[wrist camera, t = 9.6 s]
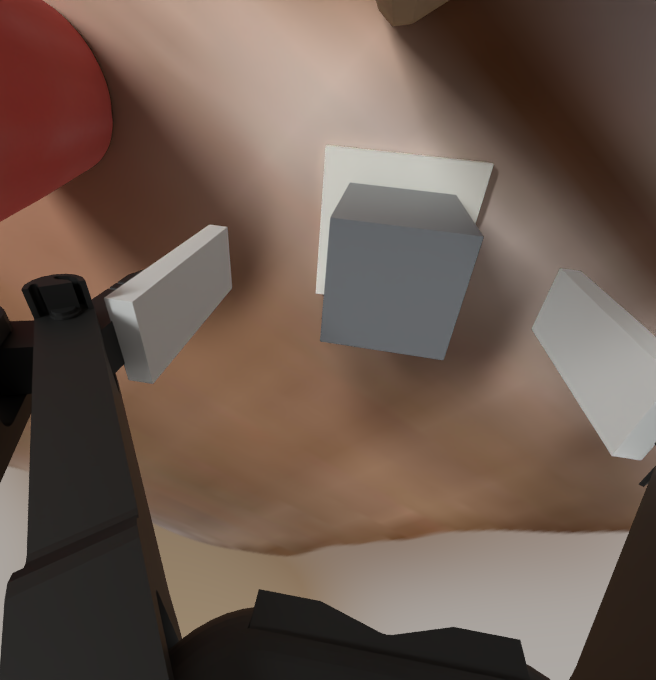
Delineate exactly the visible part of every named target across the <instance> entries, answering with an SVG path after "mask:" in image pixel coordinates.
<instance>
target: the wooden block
mask: <svg viewBox="0 0 656 680" xmlns="http://www.w3.org/2000/svg"><path fill="white" fill-rule="evenodd" d="M447 1H449V0H376V3H377V6H378V9H379V11H380V12H381V13H382V14H383V16H384V17H385V18H386V19H387V20H388V22H389V23H390V24H391V25H392V26H401V25H409V24H413V23H415V22H416V21H418V20H419V19H421V18H422V17H424V16H426V15H427V14H429V13H430V12H432V11H433V10H435V9H436V8H438V7H440V6H441V5H443V4H444V3H446V2H447Z"/></svg>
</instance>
